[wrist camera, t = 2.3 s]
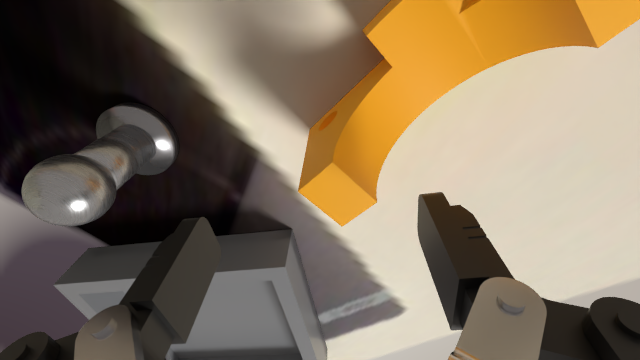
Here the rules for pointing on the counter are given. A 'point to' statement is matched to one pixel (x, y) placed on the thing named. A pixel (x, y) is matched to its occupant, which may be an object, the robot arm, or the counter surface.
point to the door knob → (101, 166)
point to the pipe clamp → (433, 78)
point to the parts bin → (219, 298)
